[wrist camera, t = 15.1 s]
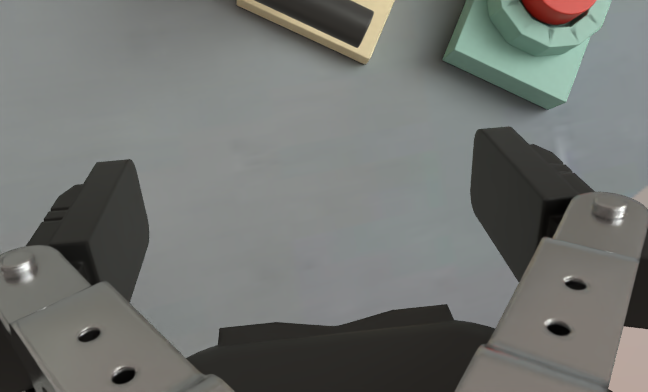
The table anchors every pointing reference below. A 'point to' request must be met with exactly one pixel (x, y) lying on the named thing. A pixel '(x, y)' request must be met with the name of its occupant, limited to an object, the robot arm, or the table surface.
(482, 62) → the control block
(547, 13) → the button
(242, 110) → the table surface
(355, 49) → the bracket
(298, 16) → the lever
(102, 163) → the robot arm
